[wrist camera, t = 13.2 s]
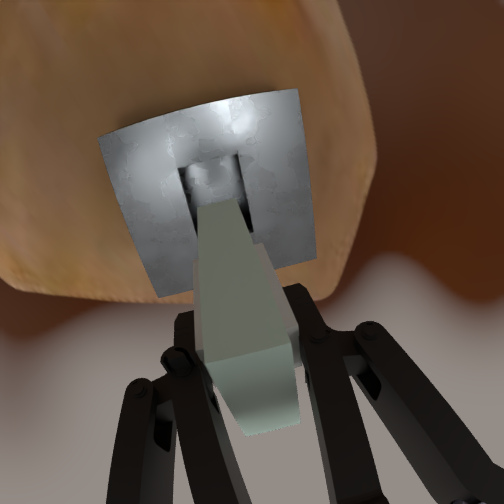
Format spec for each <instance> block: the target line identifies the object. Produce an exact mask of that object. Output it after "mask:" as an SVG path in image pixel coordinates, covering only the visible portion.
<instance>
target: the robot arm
mask: <svg viewBox="0 0 504 504" xmlns="http://www.w3.org/2000/svg"><path fill="white" fill-rule="evenodd" d="M254 247H255V249H256V252H257V254H258V257H259V260H260V262H261V265H262V268H263V270H264V273H265V275H266V278H267V281H268V283H269V286H270V289H271V291H272V294H273V296H274V299H275V302H276V304H277V307H278V310H279V312H280V315H281V317H282V320H283V323H284V325H285V328H286V331H287V333H288V336H289V339H290V341H291V346H292V354H293V362H294V368H296V367H299V366H302V363H303V365H304V368H305V382H306V383H307V386H308V391H309V396H310V401H311V405H312V410H313V415H314V420H315V425H316V430H317V435H318V441H319V446H320V451H321V456H322V461H323V467H324V472H325V478H326V483H327V489H328V494H329V500H330V504H389V502H388V500H387V498H386V497H385V496H384V495H383V493H382V490H381V486H380V482H379V478H378V474H377V470H376V466H375V463H374V459H373V455H372V452H371V448H370V444H369V441H368V437H367V434H366V430H365V427H364V423H363V420H362V417H361V413H360V410H359V407H358V403H357V400H356V397H355V394H354V390H353V387H352V384H351V381H350V378H349V376H352V377H353V379H354V380H355V381H356V383H357V384H358V386H359V387H360V389H361V390H362V392H363V393H364V395H365V396H366V398H367V399H368V401H369V402H370V404H371V405H372V406H373V408H374V410H375V411H376V413H377V414H378V416H379V417H380V419H381V420H382V422H383V423H384V425H385V426H386V428H387V429H388V431H389V432H390V434H391V435H392V437H393V438H394V439H395V441H396V443H397V444H398V446H399V447H400V449H401V450H402V452H403V453H404V455H405V456H406V458H407V460H408V461H409V463H410V464H411V465H412V467H413V469H414V470H415V472H416V473H417V475H418V476H419V478H420V479H421V481H422V483H423V484H424V486H425V487H426V489H427V490H428V492H429V493H430V495H431V496H432V497H433V499H434V500H435V501H436V502H437V503H438V504H504V469H503V468H501V467H500V466H498V465H496V464H494V463H493V462H492V461H491V459H490V458H489V456H488V455H487V454H486V452H485V451H484V450H483V448H482V447H481V446H480V444H479V443H478V441H477V440H476V439H475V437H474V436H473V435H472V433H471V432H470V431H469V429H468V428H467V427H466V425H465V424H464V423H463V422H462V420H461V419H460V418H459V416H458V415H457V414H456V413H455V411H454V410H453V409H452V408H451V406H450V405H449V404H448V403H447V401H446V400H445V399H444V398H443V396H442V395H441V394H440V393H439V391H438V390H437V389H436V388H435V387H434V385H433V384H432V383H431V382H430V380H429V379H428V378H427V377H426V376H425V375H424V373H423V372H422V371H421V370H420V368H419V367H418V366H417V365H416V364H415V363H414V362H413V360H412V359H411V358H410V357H409V356H408V355H407V353H406V352H405V351H404V350H403V349H402V347H401V346H400V345H399V344H398V343H397V342H396V341H395V340H394V338H393V337H392V336H391V335H390V334H389V333H388V332H387V330H386V329H385V328H384V327H383V326H382V325H381V324H379V323H377V322H374V321H366V322H362V323H361V324H359V325H358V326H357V327H356V329H355V331H336V330H333V329H331V328H330V327H328V326H327V325H326V324H325V322H324V321H323V318H322V317H321V315H320V313H319V311H318V309H317V307H316V305H315V304H314V302H313V300H312V298H311V297H310V294H309V292H308V290H307V288H305V287H304V286H303V285H301V284H300V283H297V284H293V285H290V286H286V287H282V286H281V284H280V282H279V279H278V277H277V275H276V272H275V270H274V268H273V266H272V263H271V261H270V259H269V256H268V254H267V252H266V250H265V247H264V245H263V243H259V244H255V245H254ZM193 294H194V310H193V311H188V312H184V313H179V314H178V316H177V318H176V320H175V322H174V346H172V347H170V348H168V349H167V350H166V351H165V352H164V353H163V354H162V356H161V361H160V362H161V364H162V365H163V367H164V368H165V370H166V371H167V374H165V375H164V376H162V377H160V378H158V379H156V380H154V381H152V382H151V381H150V380H148V379H146V378H138V379H135V380H134V381H132V382H131V383H130V384H129V385H128V386H127V388H126V391H125V395H124V399H123V404H122V409H121V413H120V418H119V423H118V428H117V433H116V438H115V444H114V450H113V456H112V462H111V468H110V475H109V483H108V490H107V499H106V504H173V481H174V462H175V447H176V433H177V431H178V436H179V441H180V446H181V451H182V455H183V460H184V465H185V469H186V473H187V477H188V481H189V485H190V489H191V493H192V497H193V500H194V503H195V504H252V502H251V500H250V497H249V494H248V492H247V489H246V486H245V483H244V481H243V478H242V475H241V473H240V469H239V467H238V464H237V461H236V458H235V455H234V452H233V449H232V446H231V443H230V440H229V436H228V433H227V430H226V427H225V424H224V420H223V417H222V414H221V411H220V407H219V404H218V401H217V397H216V395H215V393H214V391H213V384H214V386H215V387H217V386H216V384H215V382H214V380H213V379H212V377H211V375H210V373H209V371H208V369H207V367H206V365H205V362H204V350H203V336H202V322H201V305H200V285H199V261H198V259H195V260H193ZM212 383H213V384H212Z"/></svg>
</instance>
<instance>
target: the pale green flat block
mask: <svg viewBox="0 0 504 504" xmlns="http://www.w3.org/2000/svg"><path fill="white" fill-rule="evenodd" d="M197 220H198V261H199V285H200V305H201V322H202V336H203V350H204V362H205V365H206V367H207V369H208V371H209V373H210V375H211V377H212V379H213V380H214V382H215V384H216V386H217V388H218V390H219V391H220V393H221V395H222V397H223V399H224V400H225V402H226V404H227V406H228V407H229V409H230V411H231V413H232V414H233V416H234V418H235V419H236V421H237V423H238V424H239V426H240V428H241V429H242V431H243V433H244V434H245V436H251V435H256V434H260V433H264V432H269V431H273V430H277V429H281V428H284V427H288V426H291V425H295V424H299V423H301V421H300V412H299V403H298V394H297V386H296V378H295V370H294V362H293V354H292V346H291V341H290V339H289V336H288V333H287V331H286V328H285V325H284V323H283V320H282V317H281V315H280V312H279V310H278V307H277V304H276V302H275V299H274V296H273V294H272V291H271V289H270V286H269V283H268V281H267V278H266V275H265V273H264V270H263V268H262V265H261V262H260V260H259V257H258V254H257V252H256V249H255V247H254V244H253V241H252V239H251V236H250V234H249V231H248V228H247V226H246V223H245V220H244V218H243V215H242V213H241V210H240V207H239V205H238V202H237V200H236V198H233V199H229V200H225V201H221V202H217V203H213V204H209V205H205V206H201V207H197Z"/></svg>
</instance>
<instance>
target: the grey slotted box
mask: <svg viewBox="0 0 504 504" xmlns="http://www.w3.org/2000/svg"><path fill="white" fill-rule="evenodd" d="M97 139H98V142H99V146H100V149H101V152H102V156H103V159H104V162H105V165H106V168H107V171H108V174H109V177H110V180H111V183H112V186H113V189H114V192H115V195H116V198H117V200H118V203H119V206H120V209H121V211H122V214H123V217H124V219H125V222H126V224H127V227H128V229H129V232H130V234H131V237H132V239H133V242H134V244H135V247H136V249H137V251H138V254H139V256H140V259H141V261H142V263H143V265H144V268H145V270H146V272H147V274H148V277H149V279H150V281H151V283H152V285H153V288H154V290H155V292H156V294H157V296H158V298H161V297H165V296H169V295H174V294H178V293H182V292H186V291H190V290H193V260H195V259H198V220H197V207H201V206H205V205H209V204H213V203H217V202H221V201H225V200H229V199H233V198H236V200H237V202H238V205H239V207H240V210H241V213H242V215H243V218H244V220H245V223H246V226H247V228H248V231H249V234H250V236H251V239H252V241H253V244H254V245H255V244H259V243H263V245H264V247H265V250H266V252H267V254H268V256H269V259H270V261H271V263H272V266H273V268H274V269H278V268H282V267H286V266H290V265H293V264H297V263H301V262H305V261H308V260H312V259H316V258H317V256H316V242H315V228H314V216H313V205H312V195H311V185H310V176H309V167H308V158H307V150H306V142H305V135H304V128H303V121H302V114H301V107H300V101H299V95H298V89H297V88H296V89H284V90H275V91H268V92H261V93H255V94H249V95H243V96H237V97H232V98H227V99H222V100H218V101H213V102H209V103H204V104H200V105H196V106H192V107H188V108H184V109H180V110H177V111H173V112H170V113H166V114H163V115H159V116H156V117H153V118H150V119H146V120H143V121H140V122H137V123H134V124H131V125H129V126H126V127H123V128H120V129H117V130H115V131H113V132H110V133H108V134H105V135H103V136H101V137H98V138H97Z"/></svg>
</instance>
